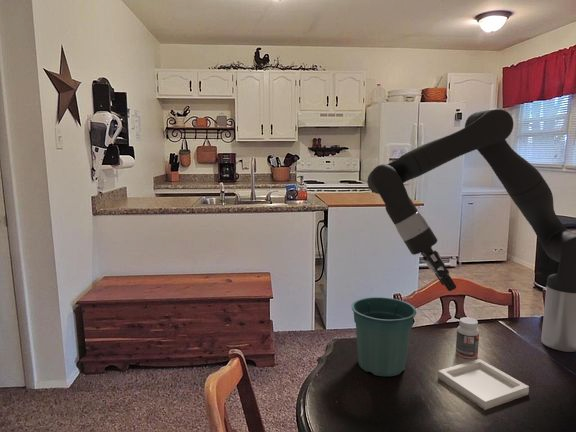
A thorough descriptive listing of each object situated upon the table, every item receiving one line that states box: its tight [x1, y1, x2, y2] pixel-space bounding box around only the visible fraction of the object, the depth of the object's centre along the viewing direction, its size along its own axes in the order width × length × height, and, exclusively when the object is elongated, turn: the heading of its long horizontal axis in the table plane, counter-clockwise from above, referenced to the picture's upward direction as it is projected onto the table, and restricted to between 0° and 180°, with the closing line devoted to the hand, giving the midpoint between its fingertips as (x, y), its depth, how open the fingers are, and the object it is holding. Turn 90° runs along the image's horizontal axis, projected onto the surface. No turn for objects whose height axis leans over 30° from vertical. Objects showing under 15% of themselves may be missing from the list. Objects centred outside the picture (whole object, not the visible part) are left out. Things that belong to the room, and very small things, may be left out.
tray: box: [437, 358, 530, 411], centre depth 99 cm, size 14×14×2 cm
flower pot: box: [351, 296, 417, 377], centre depth 108 cm, size 16×16×16 cm
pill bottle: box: [455, 316, 480, 360], centre depth 114 cm, size 6×6×10 cm
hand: (449, 286), depth 106 cm, fingers open, 8 cm apart
